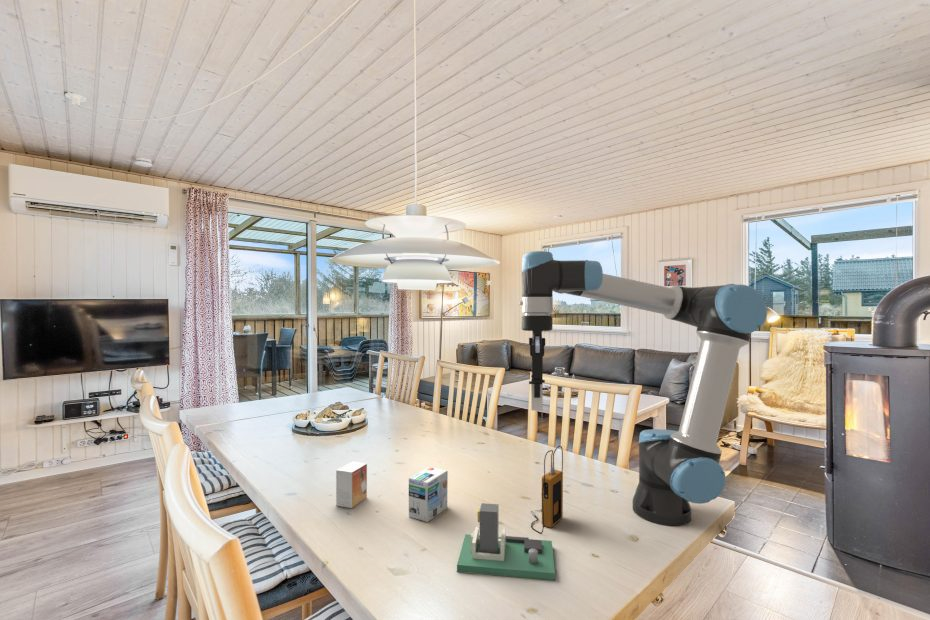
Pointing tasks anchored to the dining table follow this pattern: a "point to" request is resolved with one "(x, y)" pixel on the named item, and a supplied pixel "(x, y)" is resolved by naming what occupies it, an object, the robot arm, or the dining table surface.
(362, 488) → the small box
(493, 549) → the plug
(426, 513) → the light bulb box
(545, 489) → the multimeter
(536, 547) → the board
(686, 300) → the robot arm
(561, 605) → the dining table surface
